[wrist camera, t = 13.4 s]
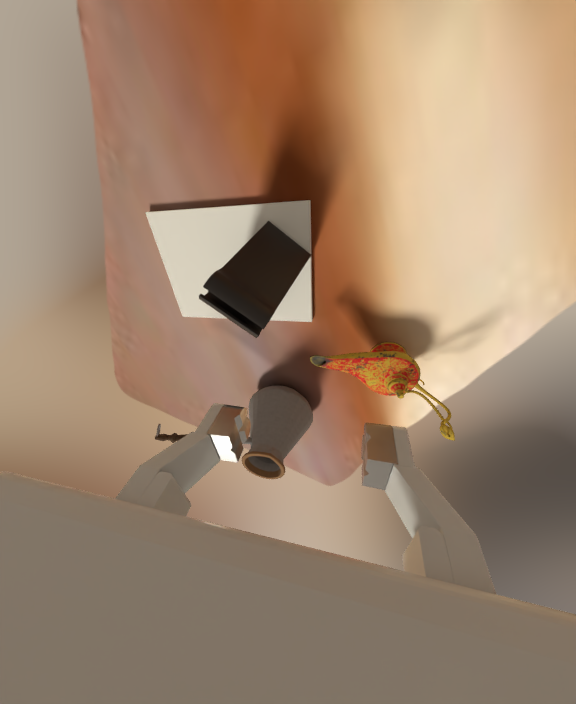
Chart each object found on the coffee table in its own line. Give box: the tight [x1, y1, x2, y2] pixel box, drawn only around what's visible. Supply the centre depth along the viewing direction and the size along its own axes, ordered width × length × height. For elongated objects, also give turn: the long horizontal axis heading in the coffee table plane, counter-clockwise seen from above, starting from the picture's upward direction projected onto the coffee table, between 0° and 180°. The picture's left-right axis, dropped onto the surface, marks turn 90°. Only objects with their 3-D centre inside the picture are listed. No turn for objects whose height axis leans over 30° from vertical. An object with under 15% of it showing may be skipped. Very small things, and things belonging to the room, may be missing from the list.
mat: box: [145, 200, 313, 322], centre depth 31 cm, size 20×14×1 cm
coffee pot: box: [155, 386, 313, 479], centre depth 38 cm, size 21×12×15 cm, turn 69°
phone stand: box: [199, 221, 311, 338], centre depth 25 cm, size 9×6×12 cm, turn 146°
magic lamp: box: [310, 342, 455, 440], centre depth 30 cm, size 7×18×11 cm, turn 73°
